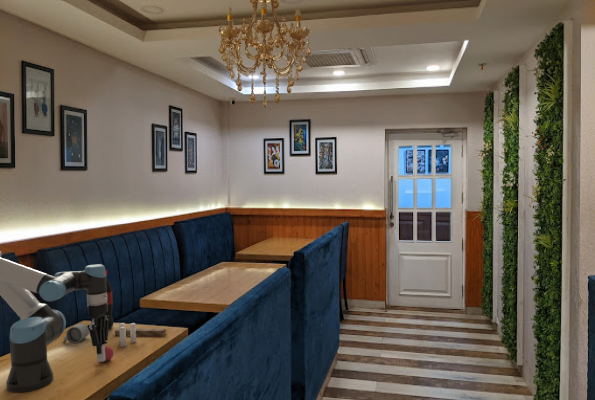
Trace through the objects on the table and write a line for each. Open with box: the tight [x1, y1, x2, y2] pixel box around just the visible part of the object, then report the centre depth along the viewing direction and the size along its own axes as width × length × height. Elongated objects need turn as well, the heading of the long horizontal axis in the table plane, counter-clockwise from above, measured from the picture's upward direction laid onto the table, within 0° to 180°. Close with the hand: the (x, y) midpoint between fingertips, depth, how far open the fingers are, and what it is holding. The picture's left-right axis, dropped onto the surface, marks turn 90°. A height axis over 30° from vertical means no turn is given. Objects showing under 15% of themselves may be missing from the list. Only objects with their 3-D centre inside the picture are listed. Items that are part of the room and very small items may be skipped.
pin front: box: [119, 326, 127, 348], centre depth 212 cm, size 2×2×8 cm
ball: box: [104, 345, 114, 362], centre depth 195 cm, size 6×6×6 cm
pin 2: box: [129, 322, 137, 344], centre depth 216 cm, size 2×2×8 cm
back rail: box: [114, 328, 167, 337], centre depth 226 cm, size 24×3×2 cm, turn 87°
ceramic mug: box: [62, 323, 90, 344], centre depth 220 cm, size 11×8×8 cm
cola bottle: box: [105, 269, 114, 331], centre depth 235 cm, size 8×8×30 cm
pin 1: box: [118, 322, 126, 330], centre depth 217 cm, size 2×2×8 cm
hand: (101, 360), depth 188 cm, fingers closed
